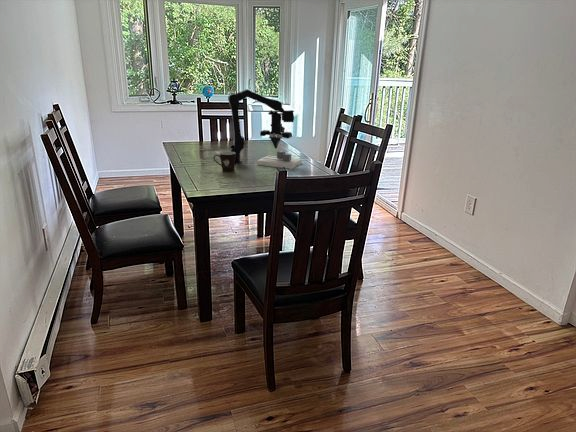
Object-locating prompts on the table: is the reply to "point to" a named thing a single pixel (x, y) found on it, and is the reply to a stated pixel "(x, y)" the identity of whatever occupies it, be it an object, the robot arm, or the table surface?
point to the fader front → (287, 157)
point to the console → (279, 162)
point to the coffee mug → (227, 161)
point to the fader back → (280, 154)
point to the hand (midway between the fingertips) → (275, 148)
